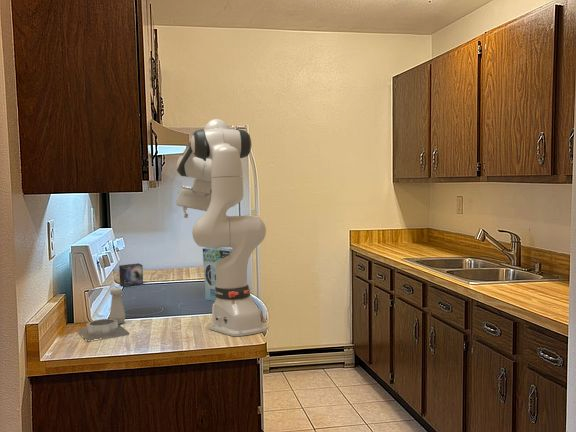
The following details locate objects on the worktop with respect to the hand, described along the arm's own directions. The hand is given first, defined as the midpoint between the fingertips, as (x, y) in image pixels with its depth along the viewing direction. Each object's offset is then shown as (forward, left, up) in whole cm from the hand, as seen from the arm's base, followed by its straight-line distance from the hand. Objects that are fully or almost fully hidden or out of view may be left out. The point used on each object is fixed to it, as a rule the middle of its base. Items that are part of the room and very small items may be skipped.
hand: (195, 219), depth 247 cm
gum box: (-16, -4, -35) cm, 39 cm away
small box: (+51, +16, -35) cm, 64 cm away
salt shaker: (-24, +43, -35) cm, 60 cm away
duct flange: (-34, +51, -35) cm, 70 cm away
